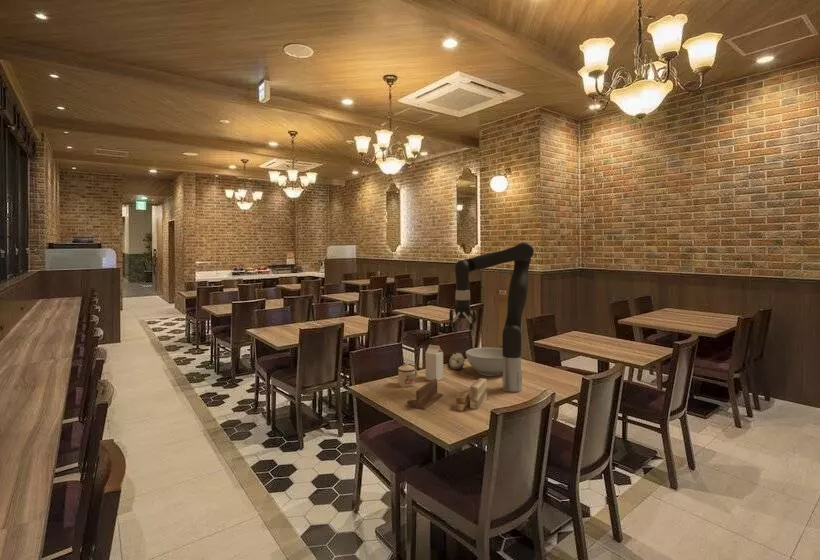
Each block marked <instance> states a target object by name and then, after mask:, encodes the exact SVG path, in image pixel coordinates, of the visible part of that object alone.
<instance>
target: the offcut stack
mask: <svg viewBox="0 0 820 560" xmlns="http://www.w3.org/2000/svg"><path fill="white" fill-rule="evenodd" d="M455 399H456V400H455V403H454V404H453V411H459V412H463V411H464V410H465V409H466V408H467V407H468V406H470V392H462V391H460V392H459V393H458V394H457V396H456V398H455Z"/></svg>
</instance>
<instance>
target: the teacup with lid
mask: <svg viewBox="0 0 820 560" xmlns="http://www.w3.org/2000/svg"><path fill="white" fill-rule="evenodd" d="M397 371H398V386H399V387H403V388H410V386H411V387H413V385H414V386H415V384H416V377H417V376H418V371H417V369H416V368H415V366H413V365H410V364H409V363H408V362H404V364H403V365H401V366H399V367H398V368H397Z"/></svg>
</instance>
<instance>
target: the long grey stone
mask: <svg viewBox="0 0 820 560" xmlns="http://www.w3.org/2000/svg"><path fill="white" fill-rule="evenodd" d="M455 353H456V354H454V353H452V354H453V355H452V354H451V355H452V356H451V355H450V358H449V360H448V364H449V367H450V368H451V369H452V370H461V369H463V368H464V365H465V361H466V360H465V358H464V355H463V353H461V352H455Z"/></svg>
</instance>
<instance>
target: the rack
mask: <svg viewBox="0 0 820 560" xmlns="http://www.w3.org/2000/svg"><path fill="white" fill-rule="evenodd" d="M443 396H444V394H443V393H440V392H439V393H438V381H437V379H433V380H429V381H428V382H427V383H426V384H424V385H423V386H421V387H420V388H418V389H417V390H416V391H415V399H410V398H409V399H408V400H407V401H406V403H407V405H406V407H412V408H416V409H418V410H424V411H425V410H427V409H428V408H429V407H431V406H432V405H433V404H434V403H435V402H437V401H439V400H440V398H442V397H443Z"/></svg>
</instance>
